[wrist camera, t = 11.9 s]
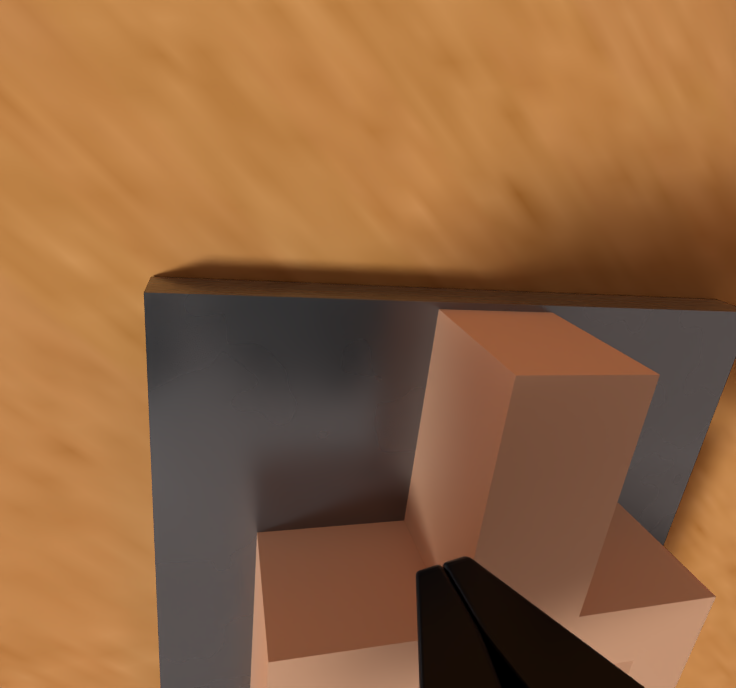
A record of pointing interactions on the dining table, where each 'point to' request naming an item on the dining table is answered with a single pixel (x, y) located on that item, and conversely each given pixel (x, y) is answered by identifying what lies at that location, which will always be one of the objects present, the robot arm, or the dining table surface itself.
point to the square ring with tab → (491, 518)
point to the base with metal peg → (351, 425)
